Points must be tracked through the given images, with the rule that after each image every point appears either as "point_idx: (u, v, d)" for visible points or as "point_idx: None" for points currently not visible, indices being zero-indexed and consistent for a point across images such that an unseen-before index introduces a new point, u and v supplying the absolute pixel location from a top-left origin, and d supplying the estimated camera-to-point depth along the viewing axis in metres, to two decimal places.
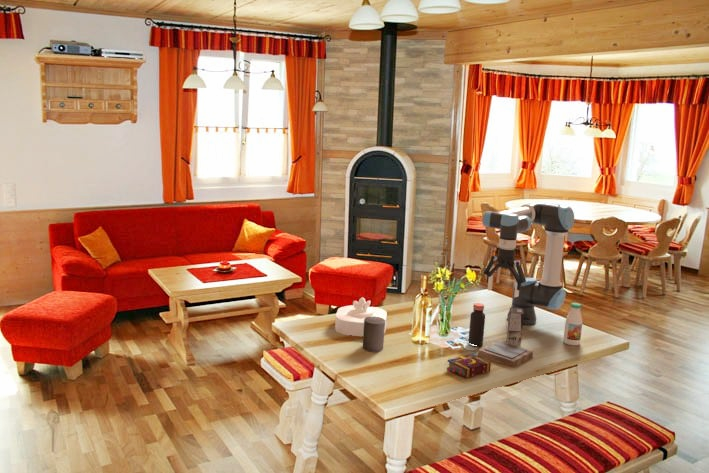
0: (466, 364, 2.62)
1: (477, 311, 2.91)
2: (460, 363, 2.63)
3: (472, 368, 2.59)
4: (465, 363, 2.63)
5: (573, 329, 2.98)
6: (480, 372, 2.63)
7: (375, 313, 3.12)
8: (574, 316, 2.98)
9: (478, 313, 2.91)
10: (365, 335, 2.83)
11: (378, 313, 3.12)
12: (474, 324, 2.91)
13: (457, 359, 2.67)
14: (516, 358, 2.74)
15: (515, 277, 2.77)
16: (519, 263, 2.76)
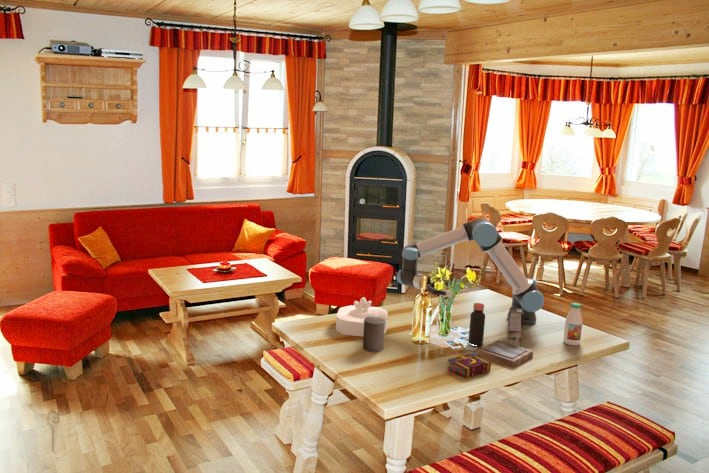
0: (466, 364, 2.63)
1: (477, 311, 2.91)
2: (460, 363, 2.63)
3: (472, 368, 2.59)
4: (465, 363, 2.64)
5: (573, 329, 2.98)
6: (480, 372, 2.63)
7: (376, 313, 3.12)
8: (574, 316, 2.98)
9: (478, 313, 2.91)
10: (365, 335, 2.83)
11: (379, 313, 3.12)
12: (474, 324, 2.91)
13: (457, 359, 2.67)
14: (516, 358, 2.74)
15: None
16: None
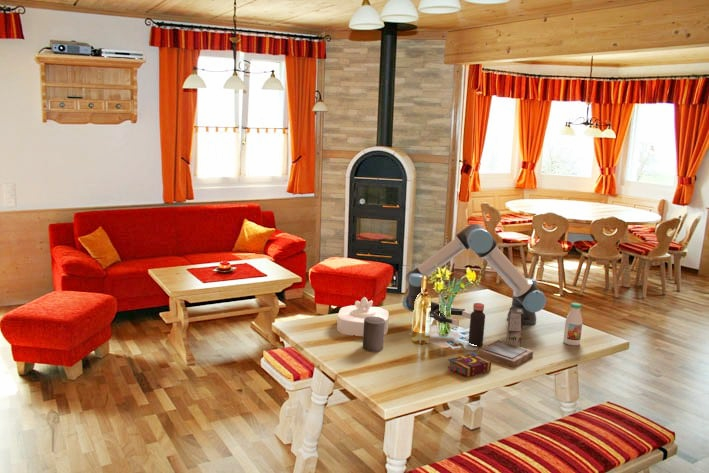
0: (467, 363, 2.63)
1: (477, 311, 2.91)
2: (460, 363, 2.63)
3: (473, 367, 2.60)
4: (466, 362, 2.64)
5: (573, 329, 2.98)
6: (481, 371, 2.64)
7: (377, 313, 3.12)
8: (574, 316, 2.98)
9: (478, 313, 2.91)
10: (365, 335, 2.83)
11: (380, 313, 3.12)
12: (474, 324, 2.91)
13: (458, 358, 2.68)
14: (516, 358, 2.74)
15: None
16: (431, 316, 3.03)
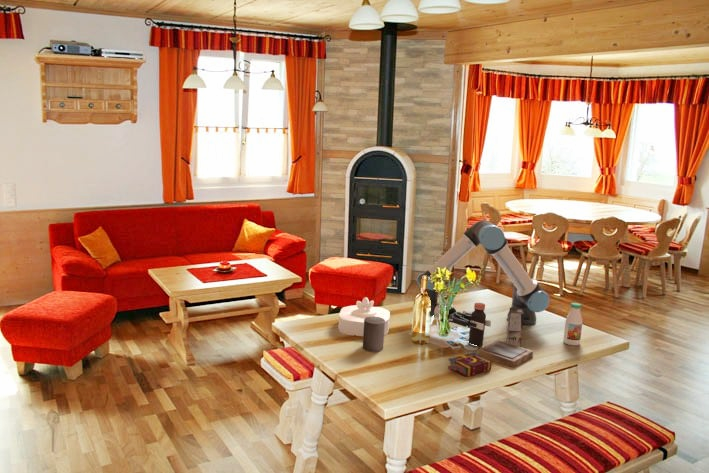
0: (467, 363, 2.64)
1: (478, 310, 2.91)
2: (461, 362, 2.64)
3: (473, 367, 2.60)
4: (466, 362, 2.65)
5: (573, 329, 2.98)
6: (481, 371, 2.64)
7: (378, 313, 3.12)
8: (574, 316, 2.98)
9: (479, 313, 2.91)
10: (365, 335, 2.83)
11: (381, 313, 3.12)
12: None
13: (458, 358, 2.69)
14: (516, 358, 2.74)
15: None
16: (450, 320, 2.96)
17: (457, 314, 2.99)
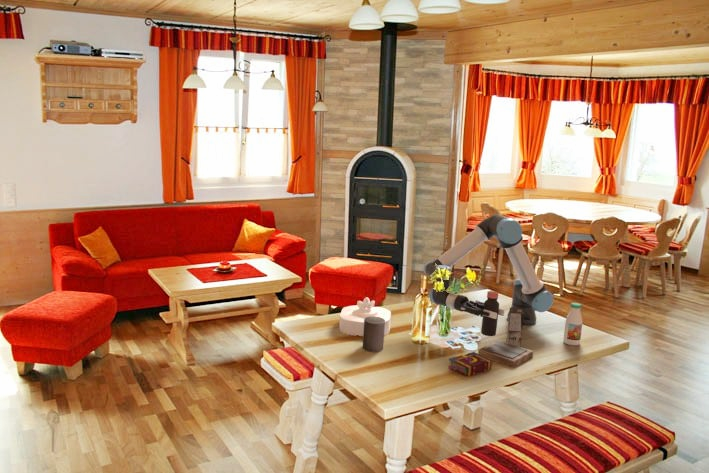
0: (467, 362, 2.64)
1: (491, 299, 2.83)
2: (461, 362, 2.64)
3: (473, 366, 2.61)
4: (466, 361, 2.65)
5: (573, 329, 2.98)
6: (481, 370, 2.65)
7: (379, 313, 3.12)
8: (574, 316, 2.98)
9: (492, 302, 2.83)
10: (365, 335, 2.83)
11: (382, 313, 3.12)
12: None
13: (458, 357, 2.69)
14: (516, 358, 2.74)
15: None
16: (462, 309, 2.89)
17: (469, 303, 2.91)
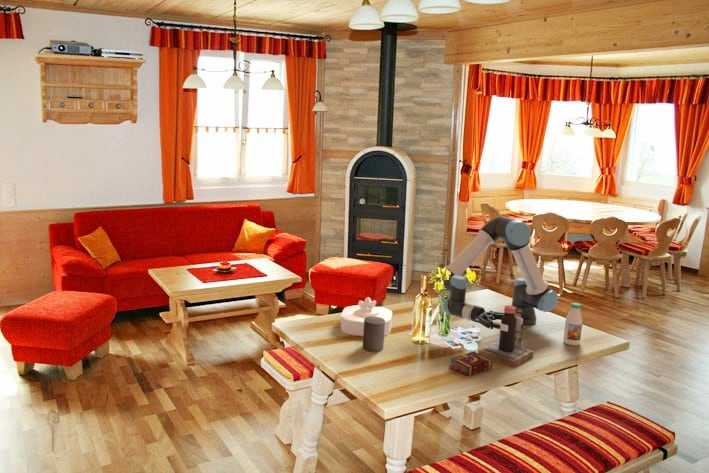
0: (468, 362, 2.65)
1: (509, 314, 2.78)
2: (462, 361, 2.65)
3: (474, 366, 2.61)
4: (467, 361, 2.66)
5: (573, 329, 2.98)
6: (482, 370, 2.65)
7: (380, 313, 3.12)
8: (574, 316, 2.98)
9: (510, 317, 2.78)
10: (365, 335, 2.83)
11: (383, 313, 3.12)
12: None
13: (459, 357, 2.69)
14: (516, 358, 2.74)
15: None
16: (476, 320, 2.83)
17: (486, 314, 2.85)
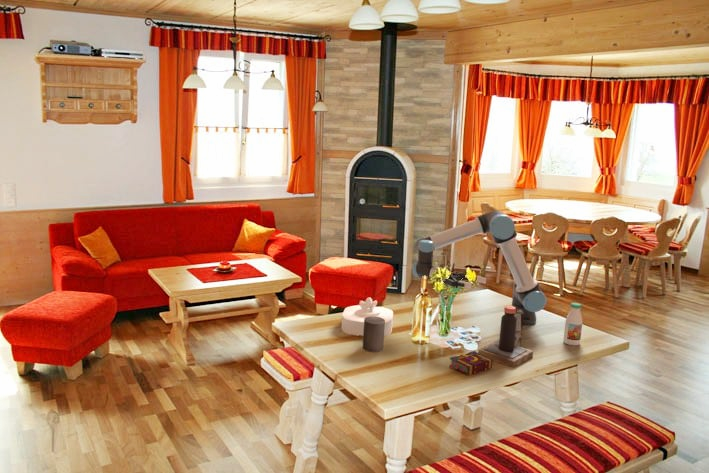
0: (468, 361, 2.65)
1: (509, 314, 2.78)
2: (462, 361, 2.65)
3: (475, 365, 2.62)
4: (467, 360, 2.66)
5: (573, 329, 2.98)
6: (482, 369, 2.66)
7: (381, 313, 3.12)
8: (574, 316, 2.98)
9: (510, 317, 2.78)
10: (365, 335, 2.83)
11: (384, 313, 3.12)
12: (505, 327, 2.78)
13: (459, 357, 2.70)
14: (516, 358, 2.74)
15: None
16: (443, 281, 2.99)
17: (451, 275, 3.01)
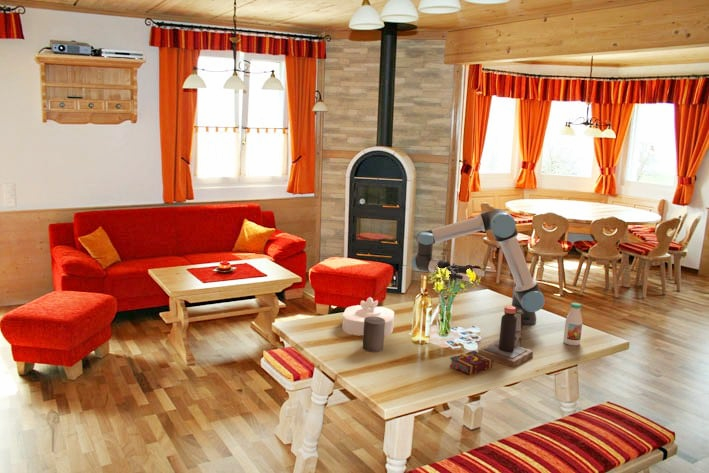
0: (469, 361, 2.65)
1: (509, 314, 2.78)
2: (462, 361, 2.66)
3: (475, 365, 2.62)
4: (468, 360, 2.66)
5: (573, 329, 2.98)
6: (482, 369, 2.66)
7: (382, 313, 3.12)
8: (574, 316, 2.98)
9: (510, 317, 2.78)
10: (365, 335, 2.83)
11: (385, 313, 3.12)
12: (505, 327, 2.78)
13: (459, 356, 2.70)
14: (516, 358, 2.74)
15: None
16: None
17: (450, 267, 3.03)
